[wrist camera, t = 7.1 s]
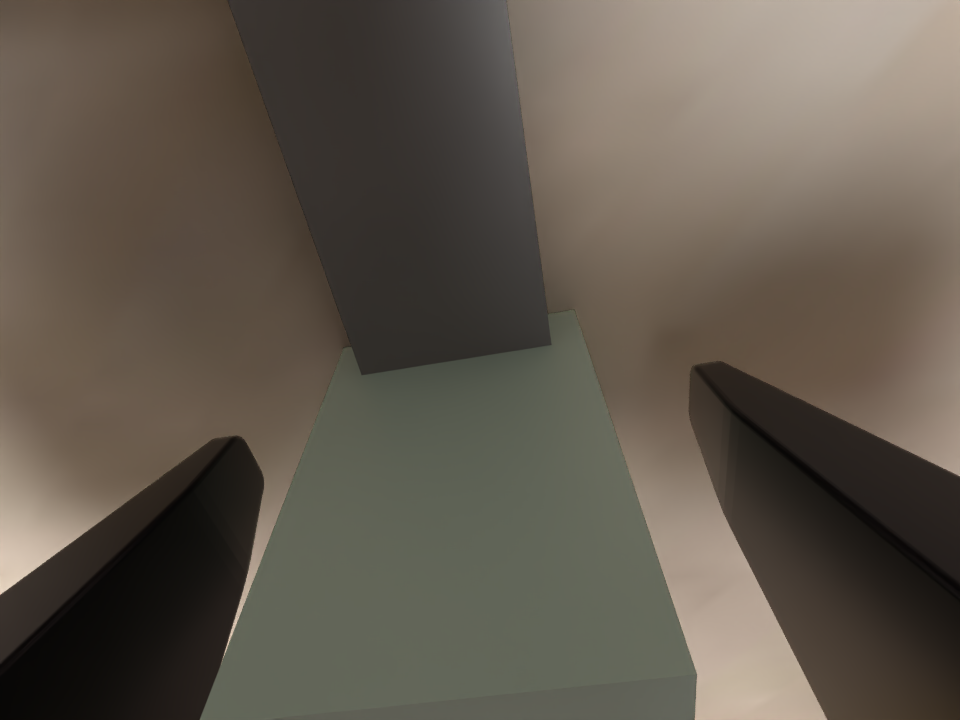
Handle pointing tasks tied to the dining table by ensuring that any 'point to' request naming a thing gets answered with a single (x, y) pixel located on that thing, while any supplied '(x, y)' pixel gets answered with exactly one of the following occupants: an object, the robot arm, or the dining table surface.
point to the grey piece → (440, 409)
